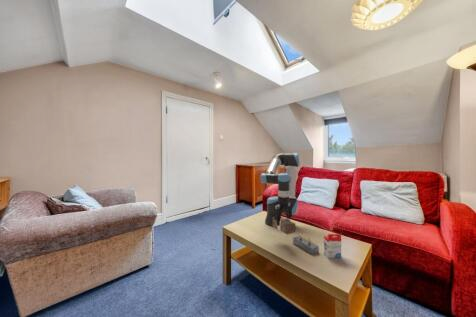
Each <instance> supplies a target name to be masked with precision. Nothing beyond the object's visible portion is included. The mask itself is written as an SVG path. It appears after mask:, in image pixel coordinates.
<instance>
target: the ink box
mask: <svg viewBox="0 0 476 317" xmlns="http://www.w3.org/2000/svg"><path fill="white" fill-rule="evenodd" d="M323 255H324V256H326V258H328V259H329V258H330V259H333V258H342V234H341V233H328V234H327V235H323Z"/></svg>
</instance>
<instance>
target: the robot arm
mask: <svg viewBox="0 0 476 317" xmlns="http://www.w3.org/2000/svg"><path fill="white" fill-rule="evenodd" d="M299 155H300V154H299V153H297V152H279V153H277V154H275V155H274V156H272V157H271V159H270V164H269V165H268V168H267V169H266V172H265V173H264V172H263V173H261V174H260V182H261V183H262V184H271V185H272V184H273V185H274V184H275V185H277V196H270V197H268V198H267V201H266V217H265V219H264V223H265V225H268V226H271V227H273V226H272V218H274V220H276V221H277V228H276V230H279V231H280V232H282V231H281V221H280V219H281V217H282V215H283V214H285V216H286V217H285V219H287V220H289V221H291V219H292V218H293V215H297V212H298V209H299V200H298V198H297V197H296V184H297V183H296V180H297V179H296V178H297V176H296V175H297V169H299V166H300V157H299ZM280 166H284V169H285V172H281V173H277V172H278V169H279V167H280Z"/></svg>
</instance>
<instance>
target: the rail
mask: <svg viewBox="0 0 476 317" xmlns="http://www.w3.org/2000/svg"><path fill="white" fill-rule="evenodd" d="M292 244H294V245H295V246H297V247H299V248H300V249H302V250H303V251H305V252H307V253H309V254H310V255H312V256H313V255H316V254H318V253H319V252H320V246H319V245H317V244H315V243H314V242H312V241H311V238H310V237H308V238H305V237H303V234H302V233H299V235H298V236H295V237H293V238H292Z"/></svg>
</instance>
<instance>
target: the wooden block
mask: <svg viewBox="0 0 476 317" xmlns="http://www.w3.org/2000/svg"><path fill="white" fill-rule="evenodd" d="M280 221H281V231H280V232H282V233H284V234H286V235H287V236H288V235H291V234H294V233H296V223H295V222H293V221H291V220H290V221H289V220H287V219H286V217H284V216H283V217H282V216H281V219H280ZM271 227H273V228H275V229H277V221H276V220H274V218H272V226H271Z"/></svg>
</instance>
